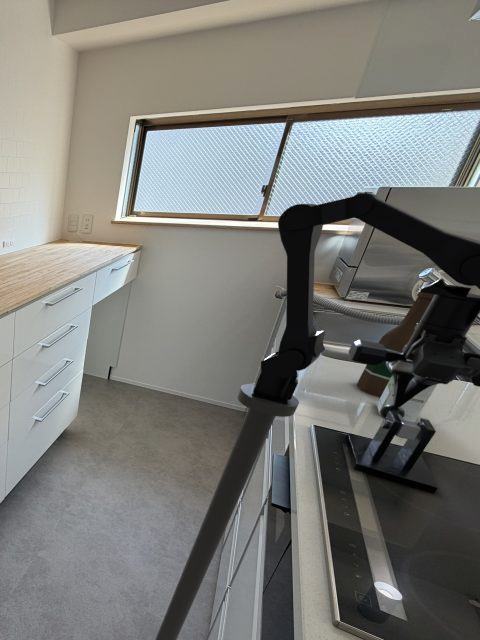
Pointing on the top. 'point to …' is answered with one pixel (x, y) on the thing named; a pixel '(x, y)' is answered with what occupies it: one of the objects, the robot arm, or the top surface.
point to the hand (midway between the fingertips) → (396, 405)
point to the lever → (407, 428)
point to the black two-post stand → (394, 454)
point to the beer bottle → (394, 346)
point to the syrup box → (411, 406)
